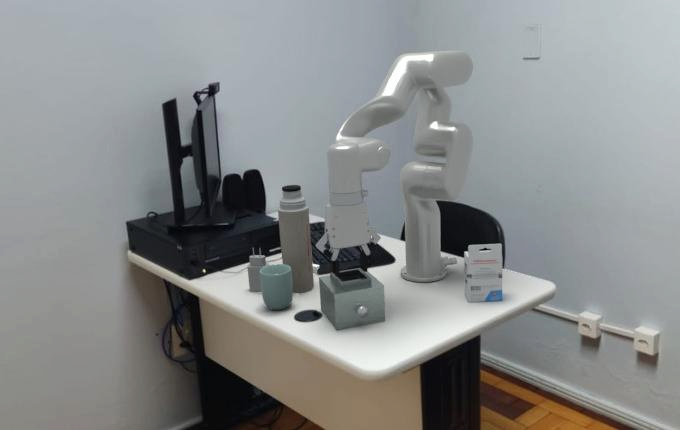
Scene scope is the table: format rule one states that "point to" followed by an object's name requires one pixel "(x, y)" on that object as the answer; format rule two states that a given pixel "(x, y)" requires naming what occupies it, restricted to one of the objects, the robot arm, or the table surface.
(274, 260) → the table surface
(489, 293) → the ink box
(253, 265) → the power adapter
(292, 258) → the thermos bottle
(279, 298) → the cup
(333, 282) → the box
